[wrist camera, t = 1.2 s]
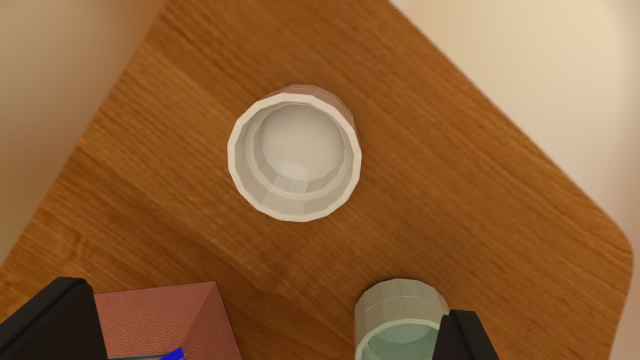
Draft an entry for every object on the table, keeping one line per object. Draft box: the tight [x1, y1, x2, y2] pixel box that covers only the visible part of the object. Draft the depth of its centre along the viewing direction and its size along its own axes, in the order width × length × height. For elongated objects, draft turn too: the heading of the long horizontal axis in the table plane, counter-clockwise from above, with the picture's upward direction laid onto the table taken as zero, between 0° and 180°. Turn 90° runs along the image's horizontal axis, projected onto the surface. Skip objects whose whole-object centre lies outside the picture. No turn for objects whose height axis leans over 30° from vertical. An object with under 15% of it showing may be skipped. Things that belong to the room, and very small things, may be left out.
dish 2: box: [354, 278, 450, 360], centre depth 25 cm, size 7×7×4 cm
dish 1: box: [227, 84, 362, 222], centre depth 20 cm, size 7×7×4 cm
